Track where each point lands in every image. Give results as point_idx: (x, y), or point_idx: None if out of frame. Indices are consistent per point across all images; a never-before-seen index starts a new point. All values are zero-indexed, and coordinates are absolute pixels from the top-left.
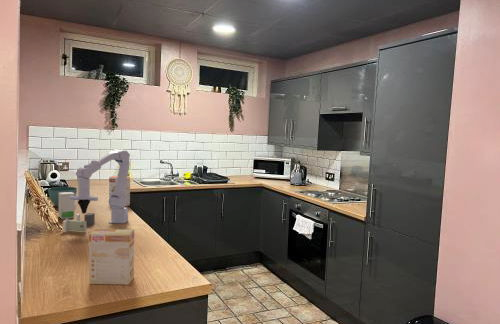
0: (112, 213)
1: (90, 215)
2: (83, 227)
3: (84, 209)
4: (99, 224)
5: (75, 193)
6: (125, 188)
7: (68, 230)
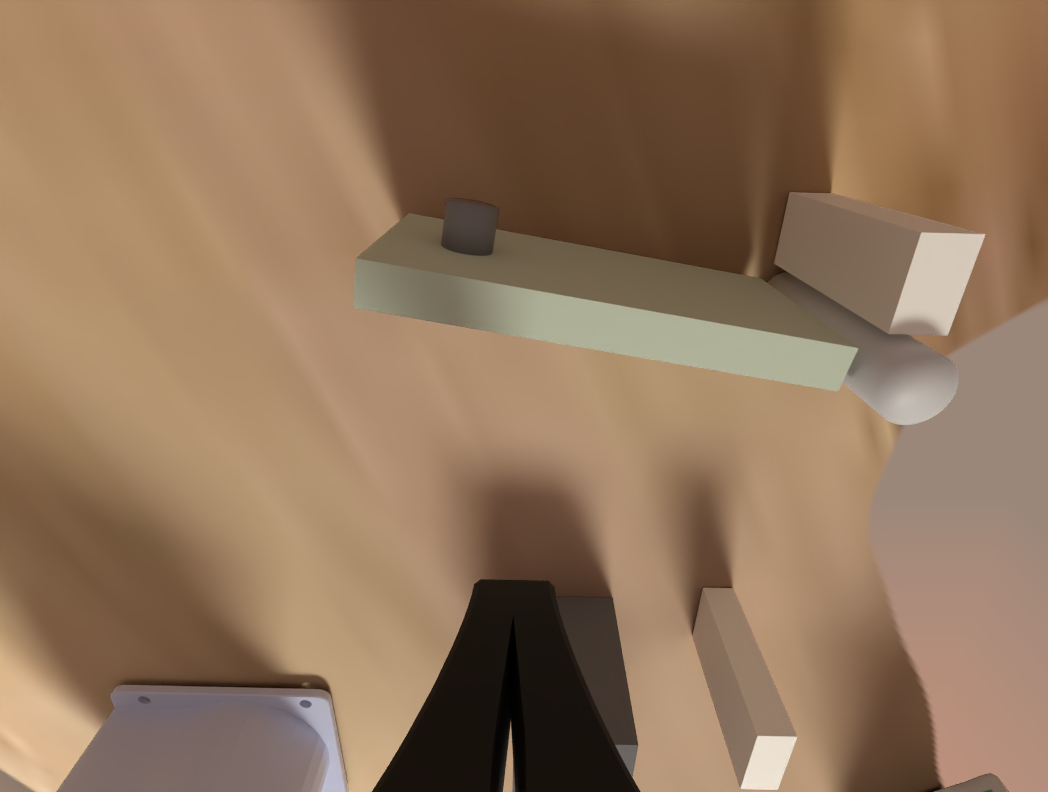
0: None
1: None
2: (437, 235)
3: (446, 682)
4: (420, 635)
5: None
6: None
7: None
